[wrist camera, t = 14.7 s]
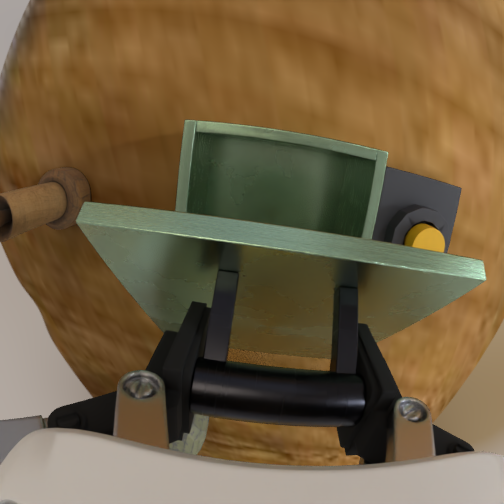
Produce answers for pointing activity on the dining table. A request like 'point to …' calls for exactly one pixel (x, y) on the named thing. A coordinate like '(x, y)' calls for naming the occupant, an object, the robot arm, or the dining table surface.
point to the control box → (414, 206)
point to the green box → (279, 178)
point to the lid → (273, 303)
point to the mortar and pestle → (44, 203)
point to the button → (425, 238)
